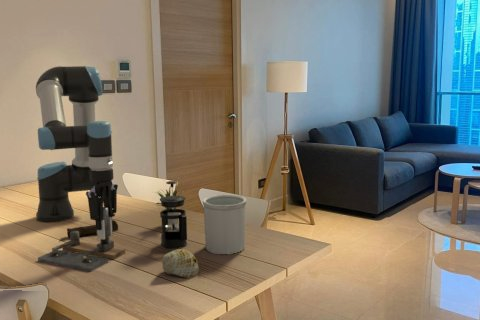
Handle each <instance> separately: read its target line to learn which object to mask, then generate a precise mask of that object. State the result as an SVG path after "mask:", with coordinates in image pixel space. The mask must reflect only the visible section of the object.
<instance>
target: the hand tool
mask: <svg viewBox="0 0 480 320" xmlns="http://www.w3.org/2000/svg"><path fill="white" fill-rule="evenodd" d="M112 222H113V224H112V233H113V232H115V231H118V230H119V224H118V223H117V221H116V220H113V219H112ZM66 229H67V230H66V234H67V238H68V239H69V240H70V232H72V231H79V237H82V236H88V235H93V234H97V230H96V224H93V225H92V224H91V225H87V226H86V225H85V226H77V227H72V228H66Z"/></svg>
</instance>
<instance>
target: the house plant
mask: <svg viewBox="0 0 480 320" xmlns="http://www.w3.org/2000/svg"><path fill="white" fill-rule="evenodd" d="M171 189H172V187H171V185H170V186H169V188H168V190H167V189H165V191H166V193H165V192H164V191H163V190H162V189H161V191H162V192H163V193H164V194H162V192H161V191H159V190H158V191H155V192H154V193H155V194H157V195H158V196H159V197H160V198H162V197H166V196H171V194H172V191H171ZM179 189H180V188H179V187H177V188H176V189H175V190H173V196H181V195H182V193H184V192H185V190H183V191H182V192H180V193H178V191H179ZM185 200H187V198H186V197H185ZM155 205H157V207H159V206H161V202H156V203H155ZM184 205H185V206H186V205H187V204H186V202H184ZM164 208H165V209H162V210H161V211H163V210H167V209H172V208H168V207H164ZM173 209H177V207H173ZM163 215H164V214H163ZM168 215H169V216H172V215H173V213H168ZM174 215H180V213H178V212H174ZM168 224H173V219H168ZM174 224H179V219H174Z"/></svg>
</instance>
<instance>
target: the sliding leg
mask: <svg viewBox="0 0 480 320" xmlns="http://www.w3.org/2000/svg"><path fill="white" fill-rule="evenodd" d="M102 220H104V224H105V239H100V242H99V243H97V248H95V249H93V250H91V251H88V252H86V253H84V254H82V255H84V256H83V259H87V256H92V255H91V254H93V253H95V252H97V251H102V252H105V251H107V250H109V249H111V248H113V247H115V242H114V240H110V239H111V238H110V237H111V236H110V234H109V215H108V207H104V206H103V217H102Z"/></svg>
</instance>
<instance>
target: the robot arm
mask: <svg viewBox="0 0 480 320" xmlns="http://www.w3.org/2000/svg"><path fill="white" fill-rule="evenodd" d="M35 92H36V96H37V97H38V99H39V103H40V113H41V121H42V122H41V123H42V127H39V128H38V129H37V140H38V147H39V149H40V150H43V151H44V150H45V151H47V150H48V151H49V150H50V151H55V150H66V149H67V150H68V149H74V154H75V155H74V158H73V159H72V160H71V164H68V165H67V162H65V161H57V162H51V163H46V164H43V165H41V166H39V168H37V181H38V183H37V184H38V197H39V203H38V206H37V212H36V213H35V218H36V221H38V222H42V223H55V222H62V221H66V220H69V219H71V218H73V217H74V215H75V210H74V209H73V206H72V203H71V201H70V198H69V193H75V192H85V195H86V198H87V201H88V203H87V204H88V210H89V217H90V218H89V219H90V220H93V221H95V225H96V230H97V233H96V238H97V239H99V240H101V239H105V224H104V220H102V217H103V207H108V215H109V234H110V237H112V236H113V232H112V224H113V222H112V220H113V217H115V216H116V213H117V211H118V210H117V207H118V206H117V203H118V202H117V200H118V198H117V197H118V196H117V195H118V193H117V191H118V187H119V186H118V184H117V183H116V184H115V183H113V182H112V181H113V180H114V169H113V166H114V165H113V164H114V163H113V148H112V147H113V146H112V142H113V140H112V133H113V132H112V131H113V130H112V128H111V126H112V125H111V122H109V121H104V120H96V104H97V102H98V101H99V97H101V96H103V85H102V80H101V75H100V72H99V70H98V68H96V67H94V66H86V65H83V66H82V65H81V66H78V65H77V66H75V65H74V66H72V65H71V66H60V65H59V66H54V67H51V68H49V69H47V70H45V71H44V72H43V73H42V74H41V75H40V76H39V78H38V79H37V82H36V85H35ZM62 97H68V101H69V102H70V103H71V104H72V109H73V110H72V115H73V125H70V126H69V125H68V126H67V121H66V118H65V117H66V116H65V111H64V105H63V100H62V99H63V98H62Z"/></svg>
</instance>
